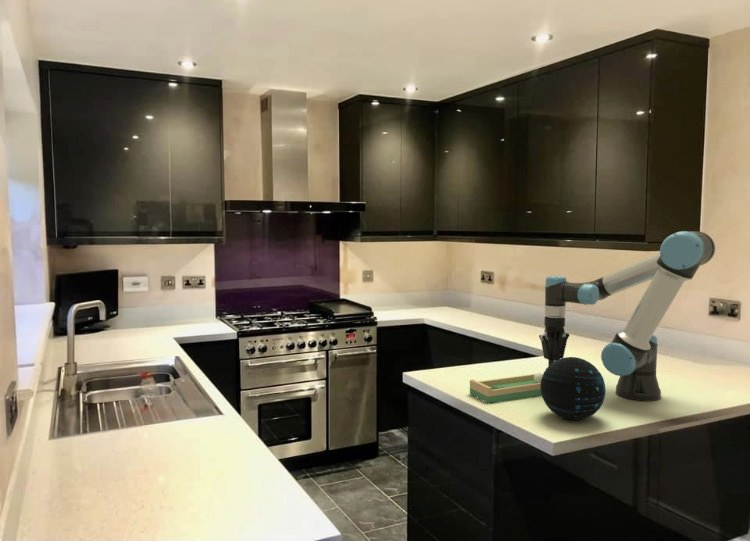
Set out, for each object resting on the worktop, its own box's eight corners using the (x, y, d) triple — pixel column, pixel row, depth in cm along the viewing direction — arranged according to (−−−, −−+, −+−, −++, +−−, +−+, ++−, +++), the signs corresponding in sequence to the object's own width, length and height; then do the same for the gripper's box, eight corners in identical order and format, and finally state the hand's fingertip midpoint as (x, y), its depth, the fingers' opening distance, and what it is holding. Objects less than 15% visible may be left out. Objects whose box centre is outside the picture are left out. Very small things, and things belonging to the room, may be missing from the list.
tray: (560, 392, 213) (560, 378, 213) (488, 403, 201) (488, 388, 200) (539, 384, 224) (539, 370, 224) (469, 394, 212) (469, 379, 211)
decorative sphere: (608, 431, 172) (610, 367, 171) (540, 426, 178) (541, 363, 176) (601, 411, 192) (602, 352, 190) (539, 406, 197) (540, 349, 195)
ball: (546, 384, 215) (546, 373, 215) (538, 385, 214) (538, 375, 213) (539, 381, 219) (539, 371, 219) (531, 382, 217) (531, 372, 217)
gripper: (561, 313, 223) (559, 372, 225) (534, 315, 218) (533, 376, 220) (575, 316, 216) (573, 377, 218) (547, 318, 211) (546, 381, 213)
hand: (553, 376), depth 219 cm, fingers closed
